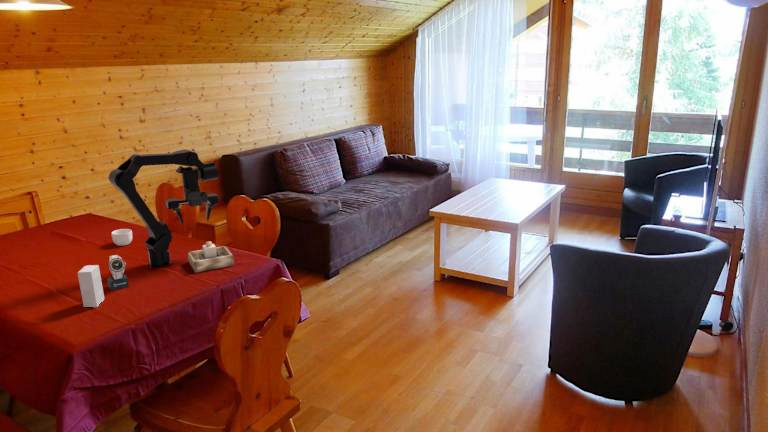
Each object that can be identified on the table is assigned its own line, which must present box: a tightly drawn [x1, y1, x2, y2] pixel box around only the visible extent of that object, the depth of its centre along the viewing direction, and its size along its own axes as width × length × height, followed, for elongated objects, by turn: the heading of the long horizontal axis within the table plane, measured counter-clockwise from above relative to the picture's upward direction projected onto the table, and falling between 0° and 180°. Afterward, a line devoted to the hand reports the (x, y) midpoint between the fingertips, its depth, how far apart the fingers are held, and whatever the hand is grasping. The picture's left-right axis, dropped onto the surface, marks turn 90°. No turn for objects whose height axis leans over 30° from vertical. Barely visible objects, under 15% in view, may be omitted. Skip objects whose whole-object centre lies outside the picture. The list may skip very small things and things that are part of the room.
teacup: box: [111, 228, 133, 247], centre depth 234 cm, size 10×8×5 cm
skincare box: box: [77, 264, 105, 308], centre depth 176 cm, size 6×4×12 cm
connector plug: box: [202, 240, 217, 259], centre depth 209 cm, size 4×4×8 cm
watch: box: [106, 254, 130, 291], centre depth 189 cm, size 6×8×11 cm
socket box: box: [187, 245, 235, 273], centre depth 210 cm, size 14×12×4 cm
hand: (195, 222), depth 217 cm, fingers open, 9 cm apart
